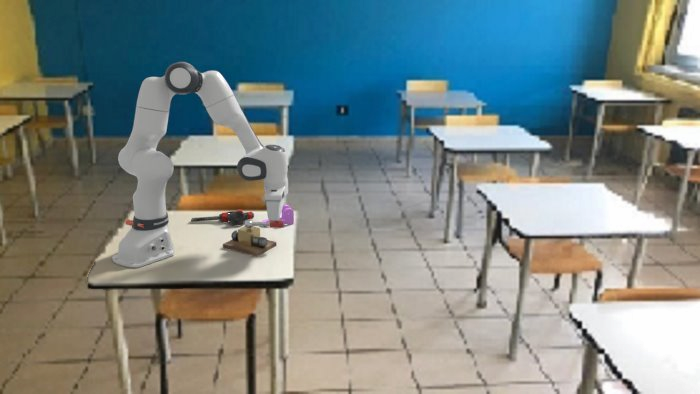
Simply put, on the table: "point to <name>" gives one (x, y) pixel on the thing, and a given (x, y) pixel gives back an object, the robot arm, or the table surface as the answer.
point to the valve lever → (264, 224)
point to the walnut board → (248, 248)
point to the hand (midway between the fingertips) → (277, 223)
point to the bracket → (285, 215)
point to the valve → (229, 217)
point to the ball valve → (249, 237)
